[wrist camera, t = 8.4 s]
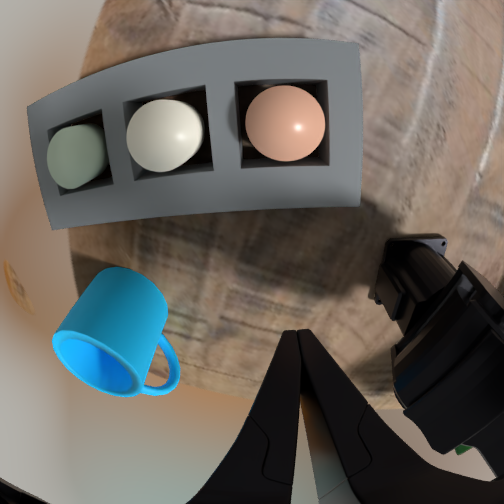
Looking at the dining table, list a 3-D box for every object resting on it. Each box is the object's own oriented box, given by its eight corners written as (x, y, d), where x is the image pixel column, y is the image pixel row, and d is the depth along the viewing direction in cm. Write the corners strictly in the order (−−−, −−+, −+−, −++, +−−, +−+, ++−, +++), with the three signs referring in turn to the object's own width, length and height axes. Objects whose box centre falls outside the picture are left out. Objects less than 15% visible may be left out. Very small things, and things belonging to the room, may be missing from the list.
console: (343, 52, 13) (358, 43, 11) (345, 191, 18) (359, 206, 15) (51, 103, 14) (26, 106, 12) (72, 214, 19) (52, 230, 17)
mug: (80, 291, 23) (41, 347, 16) (121, 250, 21) (72, 314, 14) (161, 361, 28) (144, 421, 21) (213, 336, 25) (201, 409, 18)
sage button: (106, 116, 14) (86, 119, 12) (115, 173, 16) (97, 183, 14) (63, 131, 14) (42, 137, 12) (73, 182, 16) (54, 193, 14)
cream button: (201, 95, 14) (192, 93, 12) (208, 159, 16) (200, 167, 13) (139, 107, 14) (122, 108, 12) (147, 167, 16) (132, 176, 14)
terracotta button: (314, 89, 13) (323, 86, 11) (316, 153, 15) (325, 160, 13) (244, 91, 13) (242, 87, 11) (249, 155, 15) (248, 163, 13)
